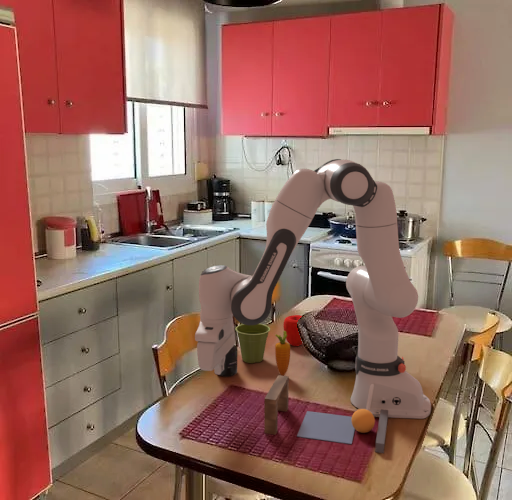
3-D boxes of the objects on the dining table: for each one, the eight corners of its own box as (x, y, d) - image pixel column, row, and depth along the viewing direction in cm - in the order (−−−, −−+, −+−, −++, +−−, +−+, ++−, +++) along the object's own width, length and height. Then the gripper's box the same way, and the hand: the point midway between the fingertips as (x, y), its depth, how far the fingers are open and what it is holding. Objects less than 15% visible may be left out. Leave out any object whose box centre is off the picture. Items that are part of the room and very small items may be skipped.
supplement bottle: (234, 378, 185) (234, 342, 182) (214, 376, 186) (213, 341, 183) (239, 369, 191) (239, 335, 189) (219, 367, 192) (219, 333, 190)
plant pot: (270, 366, 193) (270, 334, 191) (234, 366, 194) (234, 334, 191) (270, 353, 205) (270, 322, 203) (236, 352, 205) (236, 322, 203)
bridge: (288, 408, 165) (288, 376, 163) (275, 434, 150) (275, 400, 148) (278, 407, 165) (278, 375, 163) (264, 433, 151) (264, 398, 149)
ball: (352, 424, 156) (375, 426, 154) (350, 435, 150) (373, 438, 148) (352, 403, 154) (375, 405, 153) (350, 414, 149) (374, 416, 147)
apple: (291, 338, 219) (291, 310, 217) (311, 343, 214) (312, 315, 212) (278, 345, 212) (278, 317, 210) (299, 350, 207) (299, 321, 205)
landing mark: (357, 418, 159) (357, 417, 159) (351, 444, 146) (351, 443, 146) (307, 411, 163) (307, 410, 163) (296, 436, 149) (296, 435, 149)
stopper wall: (387, 418, 159) (388, 410, 158) (383, 453, 142) (384, 443, 141) (380, 417, 159) (380, 409, 159) (375, 452, 142) (375, 442, 142)
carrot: (279, 381, 182) (279, 335, 179) (271, 375, 187) (272, 330, 184) (293, 378, 185) (293, 333, 181) (285, 372, 189) (285, 328, 186)
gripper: (218, 312, 168) (221, 356, 171) (192, 337, 149) (195, 387, 152) (239, 313, 166) (241, 358, 169) (215, 339, 147) (217, 389, 150)
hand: (219, 372), depth 160 cm, fingers closed
